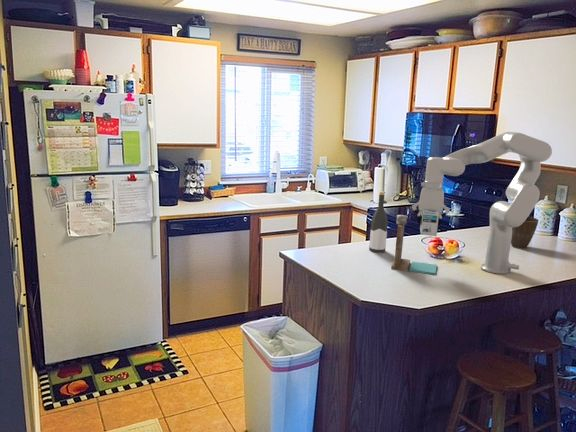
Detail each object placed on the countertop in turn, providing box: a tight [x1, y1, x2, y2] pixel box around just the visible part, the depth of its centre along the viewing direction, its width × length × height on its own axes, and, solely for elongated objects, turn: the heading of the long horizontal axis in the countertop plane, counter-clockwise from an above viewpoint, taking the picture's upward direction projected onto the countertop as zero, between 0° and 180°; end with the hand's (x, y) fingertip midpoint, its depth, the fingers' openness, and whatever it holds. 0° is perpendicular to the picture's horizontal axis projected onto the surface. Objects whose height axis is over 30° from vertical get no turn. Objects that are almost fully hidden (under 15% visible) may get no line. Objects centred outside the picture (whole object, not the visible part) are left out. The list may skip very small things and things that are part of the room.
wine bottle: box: [368, 190, 389, 254], centre depth 246 cm, size 8×8×30 cm
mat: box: [409, 261, 438, 276], centre depth 223 cm, size 11×13×1 cm
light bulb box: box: [419, 210, 439, 237], centre depth 218 cm, size 11×7×11 cm, turn 169°
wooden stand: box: [390, 214, 411, 272], centre depth 223 cm, size 7×13×23 cm, turn 161°
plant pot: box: [510, 216, 540, 250], centre depth 267 cm, size 15×15×16 cm
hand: (428, 225), depth 218 cm, fingers closed on light bulb box, 7 cm apart
